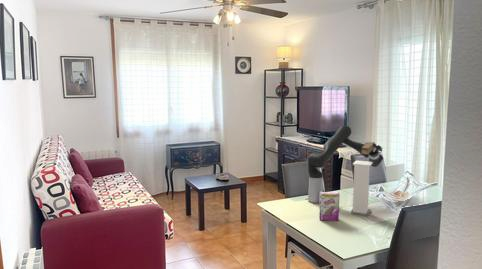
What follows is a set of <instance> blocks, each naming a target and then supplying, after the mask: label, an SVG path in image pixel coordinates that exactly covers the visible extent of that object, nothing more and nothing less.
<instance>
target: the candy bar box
mask: <svg viewBox="0 0 482 269" xmlns="http://www.w3.org/2000/svg"><path fill="white" fill-rule="evenodd" d="M340 196H341V195H340V192H337V191H336V192H334V191H333V192H332V191H323V192H320V203H318V204H319V205H318V207H319V208H318V209H319V211H318V219H319V221H329V222H330V221H331V222H333V221H335V222H338V221H339V219H340V218H339V217H340V216H339V214H340Z"/></svg>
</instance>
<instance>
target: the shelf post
mask: <svg viewBox="0 0 482 269" xmlns="http://www.w3.org/2000/svg"><path fill="white" fill-rule="evenodd" d="M372 164H373V162H369V160H368V161H367V160H365V161H364V160H355V161H354V162H353V163H352V165H353V166H354V168H353V191H352V192H353V193H352V195H353V198H352V209H351V211H350V214H352V215H356V216H362V215H363V216H364V217H369V215H370V213H371V210H372V209H371V208H369V195H370V194H369V193H370V192H369V190H370V187H369V186H370V167H372V166H371V165H372ZM363 216H362V217H363Z"/></svg>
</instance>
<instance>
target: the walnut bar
mask: <svg viewBox="0 0 482 269" xmlns="http://www.w3.org/2000/svg"><path fill="white" fill-rule="evenodd" d="M374 143H375V144H376V142H375V141H374V142H373V141H368V143H367V144H366V143H364V144H365V145H364V146H363V147H362V154H369V153H370V152H371V151H372V150H373V149H374V147H373V144H374ZM362 154H361V155H362Z"/></svg>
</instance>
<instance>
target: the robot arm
mask: <svg viewBox="0 0 482 269" xmlns="http://www.w3.org/2000/svg"><path fill="white" fill-rule="evenodd" d="M351 135H352V129H351V127H350V126H348V125H342V126H340V127H339V128H338V129H337V130H336V131H335V133H334V135H332V136H331V137H329V138H328V140H327V141H326V142H325V143H324V145H323V153H313V152H312V153H310V154H309V155H308V160H307V165H308V166H307V167H308V169H307V170H308V175H309V176H308V180H309V181H308V192H307V194H308V196H307V202H308V201H309V202H311V203H312V202H313V203H314V204H319V203H320V192H324V191H323V190H324V189H323V187H324V184H323V183H324V179H323V178H324V174H323V172H322V171H320V170H319V168H320V169H321V168H324V167H325V166H326V164H327V163H328V161H329V160H330V158H331V157H332V156H333V155H334V154H335V153H336V151H338V149H340V147H341V145H342V144H345V145H347V147H350V148H352V149H354V150H355V151H356V152H357V153H359V154H360V155H361V156H363V157H364V158H365V159H367V158H368V162H373V164H372V165H371V166H370V167H373V168H376V167H378V166H379V165H380V164H381V163H382V161H383V160H384V156H383V155H382V154H380V152H383V147H382V146H381V145H379V144H378V145H377V143H376V142H375V143H374V144H373V147H374V149H373V150H372V151H371V152H370V153H369V154H362V147H363V146H364V145H365V144H367V143H368V142H369V141H368V142H367V141H366V142H365V143H364V144H363V143H362V142H358V141H353V140H351V139H350V136H351Z"/></svg>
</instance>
